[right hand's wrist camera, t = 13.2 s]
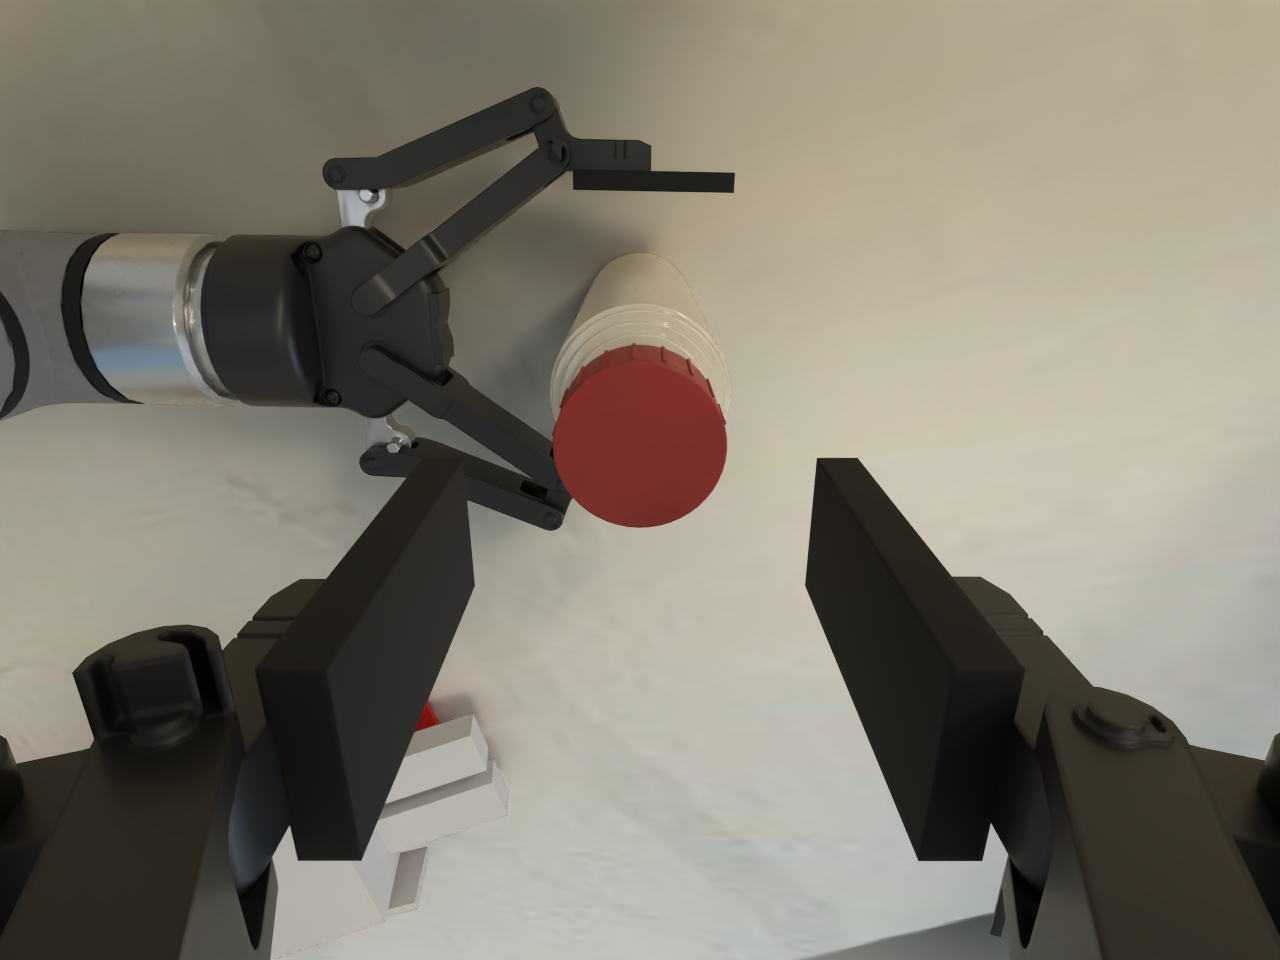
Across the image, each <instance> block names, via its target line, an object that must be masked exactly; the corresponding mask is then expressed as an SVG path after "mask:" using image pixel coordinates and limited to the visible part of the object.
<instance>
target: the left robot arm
mask: <svg viewBox="0 0 1280 960" xmlns="http://www.w3.org/2000/svg"><path fill="white" fill-rule="evenodd" d="M533 132H534V134H535V137H536V139H537V142H538V145H539V148H538V149H536V150H535V151H534V152H532V153H531V154H530V155H529V156H527V157H526V158H525V159H524V160H522V161H521V162H520V163H519V164H517V165H516V166H515V167H513V168H512V169H511V170H510V171H508V172H507V173H506V174H505V175H503V176H502V177H501V178H500V179H498V180H497V181H496V182H494V183H493V184H492V185H491V186H489V187H488V188H487V189H486V190H484V191H483V192H482V193H481V194H479V195H478V196H477V197H476V198H474V199H473V200H472V201H470V202H469V203H468V204H467V205H465V206H464V207H463V208H462V209H460V210H459V211H458V212H457V213H455V214H454V215H453V216H451V217H450V218H449V219H448V220H446V221H445V222H444V223H443V224H441V225H440V226H439V227H438V228H436V229H435V230H434V231H432V232H431V233H430V234H428V235H427V236H425V237H423V238H422V239H420V240H419V241H418V242H416V243H415V244H414V245H413V246H411V247H410V248H409V249H407V250H405V249H404V248H402V247H401V246H400V245H398V244H397V243H395V242H394V241H393V240H391V239H390V238H389V237H387V236H386V235H384V234H383V233H382V232H380V231H379V230H377V229H376V228H374V227H372V217H373V215H374V214H375V213H376V212H377V211H378V210H381V209H384V208H387V207H388V206H389V205H390V203H391V201H392V189H397V188H402V187H407V186H410V185H413V184H416V183H418V182H421V181H423V180H425V179H427V178H430V177H432V176H434V175H437V174H439V173H441V172H444V171H446V170H448V169H450V168H453V167H455V166H457V165H460V164H462V163H464V162H467V161H469V160H471V159H473V158H476V157H478V156H480V155H483V154H485V153H487V152H490V151H492V150H494V149H497V148H499V147H501V146H503V145H506V144H508V143H510V142H513V141H515V140H517V139H520V138H522V137H524V136H526V135H529V134H531V133H533ZM567 171H571V172H573V190H616V191H667V192H719V193H734V178H735V173H720V172H669V171H651V146H650V145H648V144H646V143H644V142H642V141H640V140H602V139H578V138H575V137H573V136H571V134H570V133H569V132H568V130H567V128H566V126H565V123H564V120H563V117H562V114H561V111H560V107H559V103H558V102H557V100H556V99H555V98H554V97H553V96H552V95H551V94H550V93H549V92H548V91H547V90H546V89H544V88H540V87H536V88H532V89H529V90H527V91H525V92H523V93H520V94H518V95H516V96H514V97H511V98H509V99H507V100H505V101H502V102H500V103H498V104H496V105H493V106H491V107H489V108H487V109H484V110H482V111H480V112H478V113H475V114H473V115H471V116H469V117H466V118H464V119H462V120H459V121H457V122H455V123H453V124H450V125H448V126H446V127H444V128H441V129H439V130H437V131H435V132H432V133H430V134H428V135H426V136H423V137H421V138H419V139H417V140H414V141H412V142H410V143H408V144H405V145H403V146H401V147H399V148H396V149H394V150H392V151H390V152H387V153H385V154H383V155H381V156H378V157H370V158H334V159H330V160H328V161H327V162H326V163H325V165H324V167H323V177H324V180H325V182H326V183H327V184H328V186H330V187H331V188H333V189H336V194H337V201H338V207H339V213H340V220H341V226H342V228H341V229H339V230H337V231H336V232H334V233H332V234H330V235H328V236H288V235H235V236H232V237H230V238H228V239H226V238H223V237H221V236H219V235H217V234H178V233H124V232H123V233H106V234H82V233H58V232H34V231H6V230H0V421H2V420H4V419H7V418H10V417H12V416H15V415H18V414H21V413H23V412H26V411H29V410H31V409H34V408H37V407H40V406H45V405H51V404H59V403H133V404H175V405H211V406H233V405H236V404H239V403H241V402H243V403H245V404H247V405H250V406H277V407H341V408H346V409H349V410H352V411H354V412H356V413H358V414H360V415H362V416H364V417H365V428H366V440H367V451H366V452H365V453H364V454H363V455H362V456H361V458H360V461H359V464H360V467H361V469H362V470H363V471H364V472H365V473H366V474H368V475H372V476H387V477H408V476H409V474H410V473H411V472H412V471H413V469H414V468H415V467H416V466H417V464H418V463H419V462H420V461H421V459H422V458H463V464H464V475H465V485H466V496H467V500H469V501H472V502H474V503H477V504H480V505H482V506H485V507H488V508H490V509H493V510H495V511H498V512H501V513H503V514H506V515H509V516H511V517H514V518H516V519H519V520H522V521H524V522H527V523H530V524H532V525H535V526H537V527H540V528H543V529H545V530H550V531H552V530H556V529H558V528H560V526H561V525H562V522H563V519H564V516H565V513H566V511H567V508H568V506H569V503H570V501H571V499H572V498H573V497H572V496H571V495H570V493H569V492H568V490H567V489H566V488H565V486H564V484H563V482H562V481H561V479H560V476H559V474H558V471H557V469H556V465H555V460H554V454H553V442H551V441H550V440H548V439H547V438H545V437H544V436H542V435H541V434H540V433H538V432H537V431H535V430H534V429H532V428H531V427H529V426H528V425H527V424H525V423H524V422H522V421H521V420H519V419H518V418H516V417H515V416H513V415H512V414H511V413H509V412H508V411H506V410H505V409H503V408H502V407H500V406H499V405H498V404H496V403H495V402H493V401H492V400H490V399H489V398H487V397H486V396H485V395H483V394H482V393H480V392H479V391H477V390H476V389H474V388H473V387H472V386H471V385H470V384H469V383H468V381H467V380H466V379H465V378H464V377H463V376H462V375H460V374H459V373H457V372H456V371H454V370H453V369H451V368H450V367H449V366H448V365H449V363H450V359H451V357H453V356H454V349H453V338H452V335H451V332H450V329H449V327H448V324H447V319H448V314H449V309H450V295H449V288H445V285H444V283H443V281H442V279H441V278H440V276H439V275H438V274H437V273H438V272H439V271H440V270H442V269H443V268H444V267H445V266H447V265H448V264H449V263H451V262H452V261H453V260H455V259H456V258H457V257H458V256H459V255H460V254H461V253H462V252H464V251H465V250H466V249H468V248H469V247H470V246H471V245H473V244H474V243H475V242H477V241H478V240H479V239H480V238H482V237H483V236H484V235H486V234H487V233H488V232H489V231H491V230H492V229H493V228H495V227H496V226H497V225H499V224H500V223H501V222H502V221H504V220H505V219H506V218H508V217H509V216H510V215H511V214H513V213H514V212H515V211H517V210H518V209H519V208H521V207H522V206H523V205H524V204H526V203H527V202H528V201H530V200H531V199H532V198H533V197H535V196H536V195H537V194H539V193H540V192H541V191H542V190H544V189H545V188H546V187H548V186H549V185H550V184H552V183H553V182H554V181H555V180H557V179H558V178H559V177H561V176H562V175H563V174H564V173H566V172H567ZM408 400H409V401H411V402H412V403H414V404H415V405H417V406H418V407H420V408H421V409H423V410H424V411H426V412H427V413H429V414H430V415H432V416H433V417H436V418H438V419H444V420H446V421H448V422H450V423H451V424H453V425H454V426H456V427H457V428H458V429H460V430H461V431H463V432H464V433H466V434H467V435H469V436H470V437H472V438H473V439H475V440H476V441H478V442H479V443H481V444H482V445H484V446H485V447H487V448H488V449H490V450H491V451H493V452H494V453H496V454H497V455H499V456H500V457H502V458H503V459H505V460H506V461H507V462H509V463H510V464H512V465H513V466H515V467H516V468H518V469H519V470H521V471H522V472H524V473H525V474H527V475H528V476H530V477H531V478H533V479H531V478H529V477H526V476H524V475H521V474H518V473H516V472H513V471H511V470H508V469H506V468H503V467H501V466H498V465H495V464H493V463H490V462H488V461H485V460H483V459H480V458H477V457H475V456H472V455H470V454H467V453H465V452H462V451H459V450H457V449H454V448H452V447H449V446H447V445H444V444H442V443H439V442H436V441H433V440H429V439H425V438H419V437H415V434H414V432H413V430H412V429H411V428H409V427H407V426H403V425H400V424H399V423H397V422H396V421H395V420H394V418H393V416H392V412H393V411H395V410H396V409H397V408H399V407H400V406H402V405H403V404H404V403H406V402H407V401H408Z"/></svg>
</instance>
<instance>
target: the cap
mask: <svg viewBox="0 0 1280 960" xmlns="http://www.w3.org/2000/svg"><path fill="white" fill-rule="evenodd" d="M559 408H561V410H560V413H559V416H558V419H557V422H556V425H555V428H554V430H553V434H552V436H553V454H554V460H555V465H556V469H557V471H558V474H559V476H560V479H561V481H562V482H563V484H564V486H565V488H566V489H567V490H568V492H569V493H570V495H571V496H572V497H573V498H574V499H575V500H576V501H577V502H578V503H579V504H580V505H581V506H582V507H583V508H585V509H586V510H587V511H589V512H590V513H592V514H593V515H595V516H597V517H599V518H601V519H603V520H605V521H607V522H611V523H614V524H617V525H622V526H627V527H638V528H639V527H653V526H659V525H663V524H666V523H670V522H672V521H675V520H677V519H679V518H681V517H683V516H685V515H687V514H688V513H690V512H691V511H693V510H694V509H695V508H697V507H698V506H699V505H700V504H701V503H702V502H703V501H704V500H705V499H706V498H707V497H708V496H709V494H710V493H711V492H712V491H713V489H714V488H715V486H716V484H717V482H718V481H719V478H720V476H721V474H722V471H723V468H724V464H725V461H726V454H727V436H726V429H725V425H726V421H725V418H724V416H723V413H722V410H721V407H720V405H719V403H718V404H717V401H716V399H715V395H714V392H713V389H712V386H711V383H710V381H709V379H708V378H707V379H706V378H705V377H704V376H703V375H702V373H701V372H700V371H699V370H698V369H697V368H696V367H695V366H694V365H693V364H692V363H691V360H690V359H689V358H688V359H685V358H684V357H682V356H680V355H678V354H677V353H675V352H673V351H670V350H667V349H665V347H664V346H661V347H656V346H651V345H636V343H633V344H632V345H629V346H624V347H619V348H616V349H613V350H610V351H608V350H605V351H604V353H603V354H601V355H600V356H598V357H596V358H595V359H593V360H592V361H591V362H589V363H588V364H587V365H586V366H585V367H584V366H582V367H581V369H580V372H579V373H578V374H577V376H576V377H575V379H574V380H573V382H572V383H571V385H570V387H569V389H568V388H566V390H565V393H564V395H563V398H562V401H561V404H560V406H559Z"/></svg>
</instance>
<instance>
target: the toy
mask: <svg viewBox="0 0 1280 960" xmlns="http://www.w3.org/2000/svg"><path fill="white" fill-rule="evenodd" d="M487 758H488V745H487V742H486V740H485V738H484V736H483V733H482V731H481V729H480V727H479V725H478V722H477V720H476V718H475V716H474V714H473V713H472V714H469V715H466V716H462V717H459V718H456V719H453V720H450V721H447V722H444V723H441V724H439V722H438V720H437V718H436V716H435V714H434V712H433V710H432V708H431V706H430V704H429V702H428V701H427V703H426V705H425V708H424V710H423V713H422V715H421V718H420V720H419V722H418V725H417V727H416V730H415V732H414V734H413V737H412V739H411V742H410V744H409V747H408V749H407V751H406V754H405V756H404V759H403V761H402V764H401V766H400V768H399V771H398V773H397V776H396V778H395V781H394V783H393V785H392V788H391V790H390V793H389V795H388V798H387V800H386V802H385V805H384V807H383V810H382V812H381V815H380V817H379V819H378V822H377V824H376V827H375V829H374V832H373V834H372V836H371V839H370V841H369V844H368V846H367V849H366V851H365V853H364V856H363V858H362V861H298V859H297V855H296V850H295V846H294V842H293V837H292V833H291V828H290V825H289V827H288V829H287V831H286V833H285V835H284V836H283V838H282V840H281V842H280V844H279V846H278V847H277V849H276V851H275V853H274V855H273V857H272V858H273V862H274V866H275V870H276V876H277V882H278V895H277V903H276V912H275V921H274V930H273V939H272V948H271V957H270V960H272V959H275V958H278V957H281V956H284V955H287V954H290V953H293V952H296V951H299V950H302V949H305V948H308V947H311V946H314V945H317V944H320V943H323V942H326V941H329V940H332V939H335V938H337V937H340V936H343V935H346V934H349V933H352V932H355V931H358V930H361V929H364V928H367V927H370V926H373V925H376V924H379V923H382V922H385V921H386V917H388V916H392V915H396V914H400V913H404V912H408V911H412V910H416V909H418V904H419V899H420V894H421V890H422V885H423V880H424V875H425V871H426V866H427V861H428V856H429V851H428V849H427V847H423V848H419V849H415V850H411V851H407V852H403V853H400V851H402V850H405V849H408V848H411V847H414V846H417V845H420V844H423V843H426V842H429V841H432V840H435V839H438V838H441V837H444V836H447V835H450V834H453V833H456V832H459V831H462V830H465V829H468V828H471V827H474V826H477V825H480V824H483V823H486V822H489V821H492V820H495V819H498V818H501V817H504V816H507V809H508V789H507V787H506V784H505V782H504V780H503V778H502V776H501V773H500V771H499V769H498V767H497V764H496V762H495V760H494V759H491V760H488V761H487Z"/></svg>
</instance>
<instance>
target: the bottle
mask: <svg viewBox="0 0 1280 960" xmlns="http://www.w3.org/2000/svg"><path fill="white" fill-rule="evenodd" d="M633 343H636V345H651V346H656V347H661V346H664V347H665V349H667V350H670V351H673V352H675V353H677V354H678V355H680V356H682V357H684V358H685V359H688V358H689V359H690V360H691V363H692V364H693V365H694V366H695V367H696V368H697V369H698V370H699V371H700V372H701V373H702V375H703V376H704V377H705V378H706V379H707V378H708V379H709V381H710V383H711V386H712V389H713V392H714V395H715V399H716V401H717V404H718V403H719V405H720V407H721V410H722V413H723V416H724V418H725V420H726V417H727V413H728V409H729V403H730V380H729V373H728V370H727V366H726V363H725V360H724V358H723V356H722V353H721V351H720V349H719V347H718V345H717V343H716V341H715V339H714V337H713V335H712V333H711V330H710V328H709V326H708V324H707V322H706V320H705V318H704V316H703V314H702V312H701V310H700V308H699V306H698V304H697V302H696V299H695V297H694V295H693V293H692V291H691V289H690V287H689V285H688V283H687V281H686V279H685V278H684V276H683V275H682V273H681V272H680V271H679V270H678V269H677V268H676V267H675V266H674V265H673V264H672V263H670V262H669V261H667V260H665V259H664V258H662V257H659V256H656V255H653V254H648V253H632V254H627V255H624V256H621V257H619V258H616V259H614V260H613V261H611V262H610V263H608V264H607V265H606V266H605V267H604V268H603V269H602V270H601V271H600V272H599V273H598V275H597V276H596V278H595V279H594V281H593V283H592V285H591V287H590V289H589V291H588V293H587V296H586V298H585V300H584V302H583V304H582V306H581V308H580V310H579V312H578V314H577V316H576V318H575V320H574V322H573V325H572V327H571V329H570V331H569V333H568V335H567V337H566V339H565V341H564V343H563V345H562V347H561V349H560V352H559V354H558V356H557V358H556V360H555V363H554V366H553V369H552V374H551V379H550V404H551V409H552V413H553V417H554V420H555V422H557V419H558V416H559V413H560V410H561V408H559V406H560V404H561V401H562V398H563V395H564V393H565V390H566V388H568V389H569V387H570V385H571V383H572V382H573V380H574V379H575V377H576V376H577V374H578V373H579V372H580V369H581V367H582V366H584V367H585V366H586V365H587V364H588V363H589V362H591V361H592V360H593V359H595V358H596V357H598V356H600V355H601V354H603V353H604V351H605V350H608V351H610V350H613V349H616V348H619V347H624V346H629V345H632V344H633Z"/></svg>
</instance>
